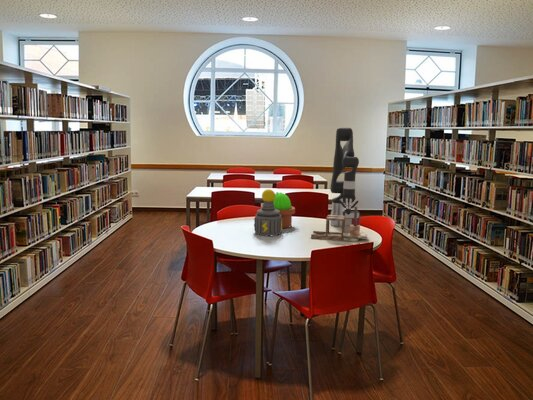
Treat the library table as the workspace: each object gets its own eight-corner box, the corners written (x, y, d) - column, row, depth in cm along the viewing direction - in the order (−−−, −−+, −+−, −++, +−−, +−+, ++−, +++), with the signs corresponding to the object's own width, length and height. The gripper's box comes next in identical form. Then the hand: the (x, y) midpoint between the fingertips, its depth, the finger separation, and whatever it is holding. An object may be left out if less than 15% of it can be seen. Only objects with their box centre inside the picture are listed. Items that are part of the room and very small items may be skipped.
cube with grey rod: (341, 237, 308) (343, 207, 305) (342, 234, 317) (343, 205, 314) (367, 238, 305) (368, 208, 302) (367, 235, 313) (368, 206, 311)
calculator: (343, 234, 326) (344, 212, 323) (341, 232, 330) (342, 211, 328) (359, 233, 328) (360, 212, 326) (356, 232, 332) (357, 211, 330)
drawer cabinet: (311, 238, 311) (311, 217, 309) (313, 234, 323) (313, 214, 321) (358, 241, 305) (358, 219, 303) (358, 237, 316) (359, 216, 314)
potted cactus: (292, 229, 337) (293, 194, 334) (262, 228, 341) (262, 193, 338) (296, 223, 359) (297, 190, 355) (267, 222, 362) (267, 189, 359)
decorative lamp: (279, 237, 314) (280, 191, 309) (251, 235, 317) (251, 190, 313) (284, 231, 332) (284, 188, 328) (257, 229, 335) (258, 187, 331)
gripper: (359, 187, 309) (358, 214, 312) (339, 186, 312) (338, 213, 315) (359, 188, 302) (358, 216, 305) (338, 188, 305) (337, 214, 307)
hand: (348, 214), depth 310 cm, fingers closed
